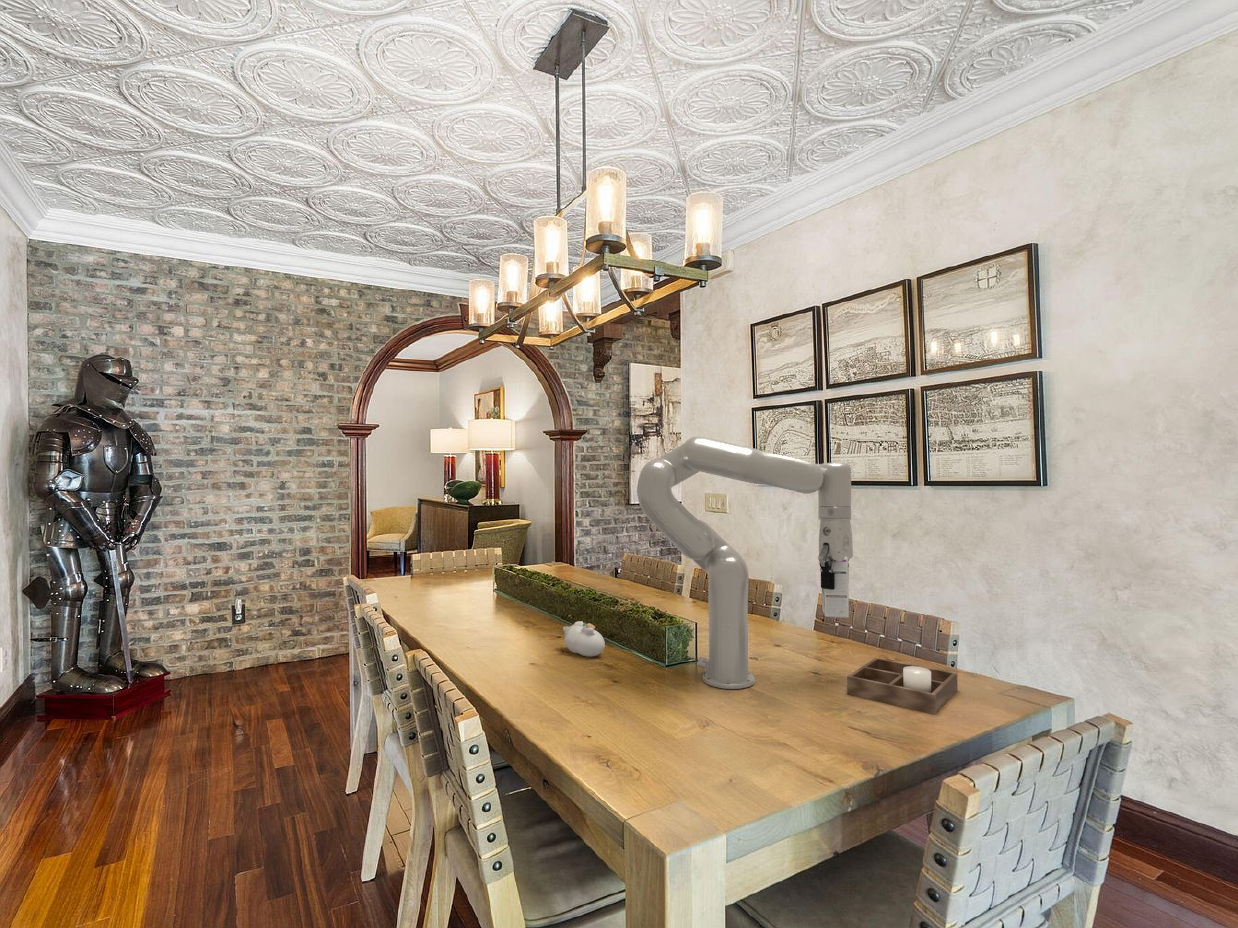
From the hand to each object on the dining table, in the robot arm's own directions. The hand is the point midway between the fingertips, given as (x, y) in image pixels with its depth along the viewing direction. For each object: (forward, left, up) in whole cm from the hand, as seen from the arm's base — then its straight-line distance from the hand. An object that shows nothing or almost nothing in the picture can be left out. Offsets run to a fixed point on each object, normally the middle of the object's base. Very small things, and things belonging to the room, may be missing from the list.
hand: (834, 585), depth 154 cm
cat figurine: (-65, -21, -24) cm, 72 cm away
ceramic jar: (+20, -3, -23) cm, 30 cm away
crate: (+15, +1, -24) cm, 28 cm away
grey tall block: (0, 0, -7) cm, 7 cm away
